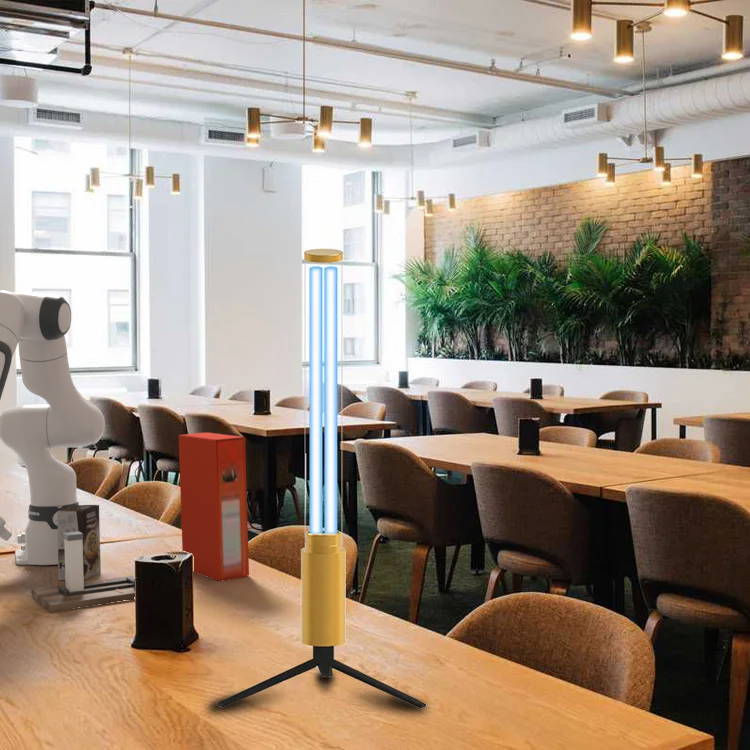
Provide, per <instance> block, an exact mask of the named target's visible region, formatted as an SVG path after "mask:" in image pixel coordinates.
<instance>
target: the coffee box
mask: <svg viewBox="0 0 750 750" xmlns="http://www.w3.org/2000/svg"><path fill="white" fill-rule="evenodd" d="M57 519H58V564H57V566H58V568H57V569H58V580H59V581H65V547H64V534H63V533H69V532H78V531H79V532H81V533H83V539H82V540H83V576H84V581H86V580H87V579H90V578H92V577H94V576H97V575H98V573H99V574H100V572H101V571H102V570H101V567H102V566H101V562H102V561H101V531H100V530H101V529H100V527H101V526H100V523H101V522H100V504H81V505H80V504H79V505H74V506H71V507H68V508H65V509H61V510H58V511H57ZM85 579H86V580H85Z"/></svg>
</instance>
